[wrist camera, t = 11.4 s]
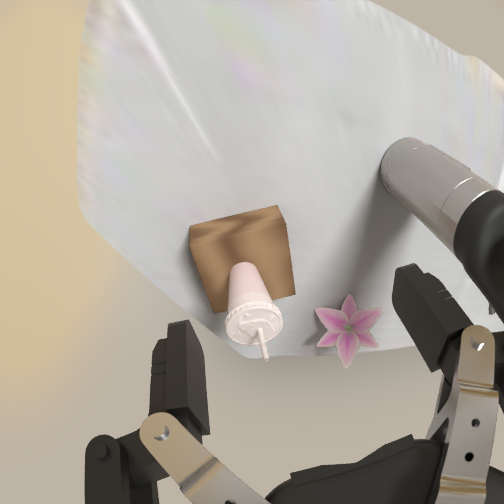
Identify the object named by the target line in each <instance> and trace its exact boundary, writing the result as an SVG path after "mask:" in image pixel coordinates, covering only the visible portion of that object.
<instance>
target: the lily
mask: <svg viewBox="0 0 504 504" xmlns="http://www.w3.org/2000/svg"><path fill="white" fill-rule="evenodd" d="M315 312H316V314H317V316H318V317H319V319H320V321H321V322H322V323H323V325H324V326H325V327H326V328H327V329H328V331H327V332H326V333H325V334H324V336H323V337H322V338H321V339H320V341H319V342H318V344H317V347H330V346H336V348H337V352H338V355H339V357H340V360H341V362H342V365H343V366H344V368H348V367H349V366H350V364H351V362H352V361H353V359H354V356H355V355H356V353H357V350H358V347H359V346H362V347H368V348H378V343H377V342H376V340H375V338H374V337H373V336H372V334H371V333H370V332H369V330H370V329H371V328H372V327H373V325H374V324H375V323H376V321H377V320H378V319H379V317H380V316H381V314H382V312H383V308H378V307H377V308H368V309H361V310H357V306H356V303H355V301H354V299H353V296H352V295H351V294H348V295H347V297H346V299H345V301H344V303H343V305H342V308H341V311H340V310H337V309H331V308H322V307H318V308H316V309H315Z"/></svg>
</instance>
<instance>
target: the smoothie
mask: <svg viewBox="0 0 504 504" xmlns="http://www.w3.org/2000/svg"><path fill="white" fill-rule="evenodd" d="M282 326H283V320H282V315H281V312H280V310H279V309H278V308H277V307H276V306H275V305H274V303H273V301H272V299H271V297H270V295H269V293H268V291H267V289H266V287H265V285H264V283H263V280H262V278H261V276H260V274H259V272H258V270H257V268H256V266H255V265H253V264H252V263H249V262H241V263H238V264H236V265H234V266H233V267H232V269H231V270H230V277H229V299H228V315H227V317H226V319H225V328H226V333H227V335H228V337H229V338H230V339H231V340H232V341H234V342H236V343H238V344H241V345H248V346H252V345H259V344H260V346H261V350H262V355H263V359H264V361H268V360H269V357H268V352H267V348H266V344H265V343H266V342H268V341H270V340H272V339H273V338H274V337H276V336H277V335H278V334H279V332H280V331H281V329H282Z"/></svg>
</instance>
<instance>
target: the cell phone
mask: <svg viewBox="0 0 504 504" xmlns="http://www.w3.org/2000/svg"><path fill="white" fill-rule="evenodd" d="M489 313H490V314H491V315H492V314H494V313H495V310H494V309H493V307H492V306H491V305H490V304H489Z"/></svg>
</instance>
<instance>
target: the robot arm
mask: <svg viewBox="0 0 504 504" xmlns="http://www.w3.org/2000/svg"><path fill="white" fill-rule="evenodd" d="M380 173H381V179H382V183H383V185H384V186H385V188H386V189H387V190H388V191H389V192H390V193H391V194H392V195H393V196H395V197H396V198H397V199H398V200H399V201H400V202H401V203H402V204H403V205H404V206H405V207H406V208H407V209H409V210H410V211H411V212H412V213H413V214H414V215H415V216H416V217H417V218H418V219H419V220H420V221H421V222H422V223H423V224H424V225H425V226H426V227H427V228H428V229H429V230H430V231H431V232H432V233H433V234H434V235H435V236H436V237H437V238H438V239H439V240H440V241H441V242H442V243H443V244H444V245H445V246H446V247H447V248H448V249H449V250H450V251H451V252H452V253H453V254H454V255H455V256H456V257H457V258H458V260H459V261H460V262H461V263H462V264H463V266H464V269H465V271H466V272H467V274H468V275H469V277H470V278H471V279H472V281H473V282H474V283H475V284H476V286H477V287H478V288H479V289H480V291H481V292H482V293H483V295H484V296H485V297H486V299H487V300H488V302H489V303H490V305H491V306H492V307H493V309H494V310H495V312H496V313H497V315H498V316H499V318H500V319H501V321H502V322H503V323H504V193H502V192H501V191H499V190H498V189H497V188H495V187H494V186H492V185H491V184H489V183H488V182H487V181H485V180H484V179H482V178H480V177H479V176H477V175H476V174H474V173H473V172H471V170H470V168H468V167H467V166H465V165H464V164H462V163H460V162H459V161H457V160H455V159H454V158H452V157H450V156H449V155H447V154H445V153H444V152H442V151H440V150H438V149H437V148H435V147H433V146H431V145H427V144H425V143H423V142H421V141H420V140H417V139H415V138H404V139H401V140H399V141H397V142H396V143H394V144H393V145H392V146H391V147H390V148H389V149H388V151H387V152H386V154H385V156H384V158H383V160H382V164H381V171H380ZM392 303H393V307H394V309H395V311H396V313H397V314H398V316H399V318H400V319H401V321H402V323H403V324H404V326H405V328H406V329H407V331H408V333H409V334H410V336H411V338H412V339H413V341H414V343H415V345H416V346H417V348H418V350H419V351H420V353H421V355H422V357H423V359H424V360H425V362H426V364H427V366H428V367H429V369H430V371H431V372H434V371H436V370H439V369H441V370H442V372H443V375H442V378H441V384H440V390H439V394H438V399H437V404H436V409H435V413H434V417H433V420H432V423H431V425H430V427H429V429H428V432H427V435H426V438H425V439H415V440H414V438H413V436H412V434H410V435H408V436H406V437H403V438H401V439H398V440H396V441H393V442H391V443H388V444H385V445H383V446H382V447H381V448H379V449H377V450H376V451H375V452H373V453H371V454H370V455H368V456H367V457H365V458H363V459H362V460H360V461H358V462H356V463H351V464H336V465H321V466H317V467H313V468H309V469H305V470H301V471H297V472H293V473H290V475H291V479H289V480H287V481H285V482H283V483H282V484H280V485H278V486H277V487H276V488H275V489H273V490H272V491H271V492H270V493H269V494H268V495H267V496H266V497H265V499H264V498H263V497H261V496H260V495H259V494H258V493H256V492H255V491H254V490H253V489H252V488H250V487H249V486H248V485H247V484H245V483H244V482H243V481H242V480H241V479H240V478H238V477H237V476H236V475H235V474H234V473H233V472H231V471H230V470H229V469H228V468H227V467H226V466H225V465H223V464H222V463H221V462H220V461H219V460H218V459H217V458H215V457H214V456H213V455H212V454H211V453H210V452H209V451H208V450H207V449H206V448H205V447H204V446H203V445H202V435H209V434H210V426H209V415H208V403H207V391H206V376H205V362H204V354H203V350H202V347H201V344H200V342H199V340H198V338H197V336H196V334H195V331H194V329H193V327H192V325H191V323H190V321H189V320H184V321H179V322H174V323H169V324H168V333H167V338H165V339H160V340H158V342H157V344H156V346H155V348H154V350H153V353H152V368H151V375H152V376H151V384H150V406H149V407H150V409H149V415H148V418H146V419H145V420H144V421H143V423H142V425H141V427H140V428H139V429H138V430H137V431H135V432H132V433H130V434H128V435H125V436H123V437H120V438H118V439H114V438H113V437H111V436H109V435H99V436H97V437H95V438H93V439H92V440H91V441H90V442H89V444H88V446H87V448H86V453H85V504H159V498H158V488H157V481H158V480H161V479H164V478H166V477H169V476H171V477H172V478H173V479H174V480H175V481H176V483H177V484H178V485H179V486H180V490H181V491H182V493H183V494H184V495H185V496H186V497H187V498H188V499H189V500H190V501H191V502H192V503H193V504H504V472H502V471H500V470H498V469H496V468H494V467H491V466H489V464H490V458H491V453H492V448H493V442H494V435H495V429H496V428H495V427H496V421H497V412H498V402H499V404H500V407H501V408H502V411H503V413H504V331H502V332H493V333H491V332H490V331H489V330H488V329H487V328H485V327H483V326H480V325H474V324H473V323H472V322H471V320H470V319H469V318H468V316H467V315H466V314H465V312H464V311H463V310H462V308H461V307H460V306H459V304H458V303H457V302H456V300H455V299H454V298H452V295H451V294H450V293H449V291H448V290H446V288H445V286H444V285H443V284H442V283H441V281H440V280H439V279H438V278H436V277H435V276H433V275H431V274H430V273H425V274H424V273H423V272H422V271H421V269H420V268H419V267H418V266H417V265H416V264H415V263H413V264H409V265H406V266H403V267H399V268H397V269H396V271H395V278H394V285H393V292H392Z"/></svg>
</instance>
